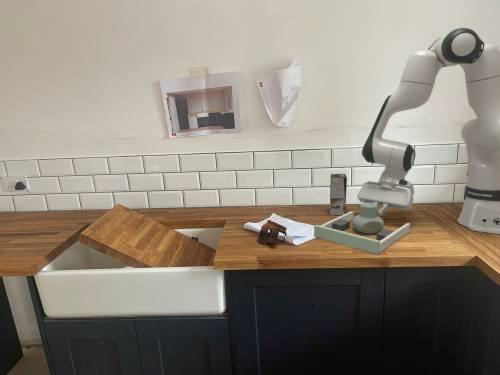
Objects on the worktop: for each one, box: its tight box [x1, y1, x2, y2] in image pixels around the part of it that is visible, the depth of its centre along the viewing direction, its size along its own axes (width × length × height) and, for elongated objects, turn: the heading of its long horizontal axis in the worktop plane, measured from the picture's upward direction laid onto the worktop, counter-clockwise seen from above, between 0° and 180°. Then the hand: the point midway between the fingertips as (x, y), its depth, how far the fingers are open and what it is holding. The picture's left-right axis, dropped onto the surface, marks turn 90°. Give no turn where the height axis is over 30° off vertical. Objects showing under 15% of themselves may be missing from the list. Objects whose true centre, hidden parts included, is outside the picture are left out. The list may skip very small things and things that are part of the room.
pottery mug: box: [257, 219, 288, 246], centre depth 117 cm, size 12×10×8 cm
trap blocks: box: [332, 219, 395, 241], centre depth 122 cm, size 21×6×2 cm, turn 46°
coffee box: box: [329, 173, 348, 216], centre depth 146 cm, size 9×6×16 cm
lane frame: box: [313, 211, 411, 255], centre depth 122 cm, size 23×26×4 cm
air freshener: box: [351, 202, 385, 235], centre depth 124 cm, size 11×8×10 cm
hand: (377, 214), depth 129 cm, fingers closed
